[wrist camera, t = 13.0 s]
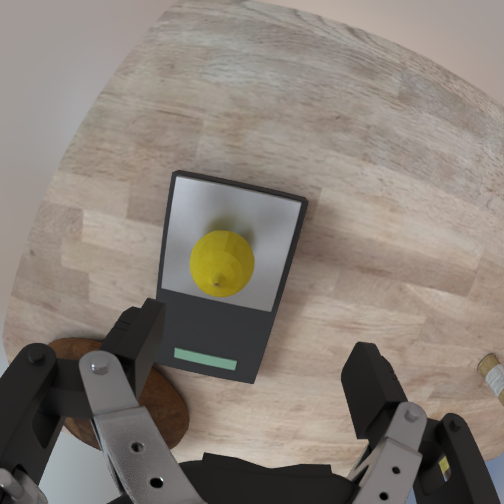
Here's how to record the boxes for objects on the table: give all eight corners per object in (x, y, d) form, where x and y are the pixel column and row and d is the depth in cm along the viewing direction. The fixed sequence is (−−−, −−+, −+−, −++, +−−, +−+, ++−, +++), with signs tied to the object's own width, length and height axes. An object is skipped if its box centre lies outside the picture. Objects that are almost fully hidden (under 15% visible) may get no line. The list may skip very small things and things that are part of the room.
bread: (192, 350, 40) (178, 395, 32) (191, 451, 49) (185, 487, 41) (28, 311, 39) (-2, 340, 31) (64, 416, 49) (48, 445, 40)
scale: (156, 351, 40) (149, 367, 37) (178, 169, 32) (168, 173, 28) (253, 372, 41) (253, 390, 38) (305, 197, 32) (310, 204, 29)
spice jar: (496, 360, 41) (530, 403, 29) (479, 375, 42) (511, 421, 30) (492, 349, 40) (529, 394, 28) (474, 365, 41) (508, 413, 29)
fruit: (255, 220, 29) (254, 249, 22) (254, 274, 31) (252, 317, 23) (197, 219, 29) (176, 247, 22) (199, 272, 31) (182, 314, 23)
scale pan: (163, 285, 33) (161, 288, 32) (178, 175, 28) (176, 176, 28) (270, 308, 33) (271, 312, 32) (300, 201, 29) (301, 203, 28)
